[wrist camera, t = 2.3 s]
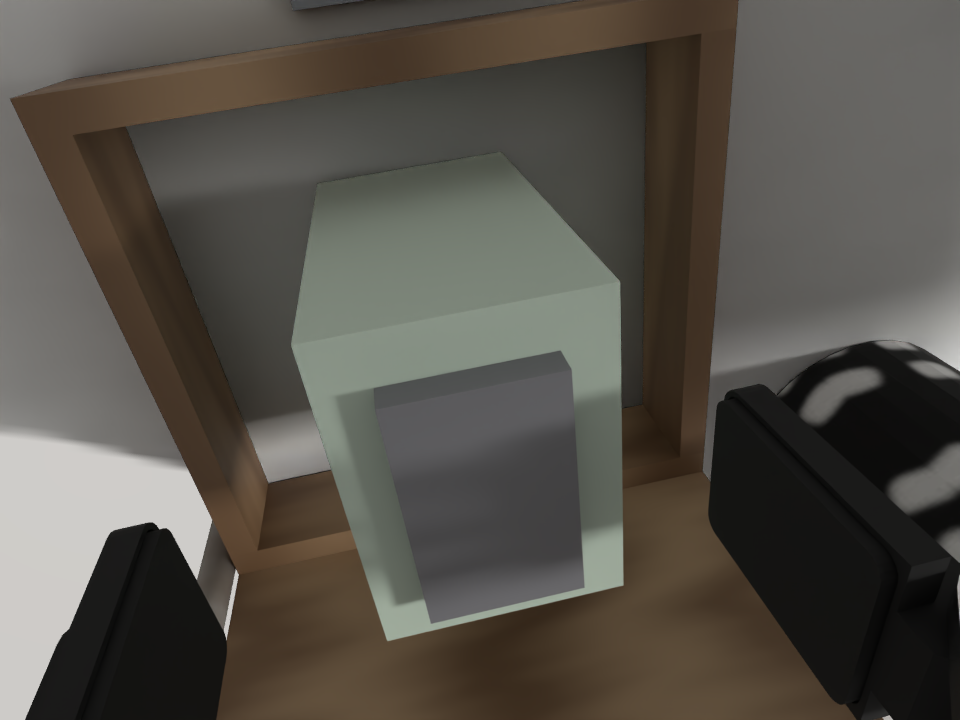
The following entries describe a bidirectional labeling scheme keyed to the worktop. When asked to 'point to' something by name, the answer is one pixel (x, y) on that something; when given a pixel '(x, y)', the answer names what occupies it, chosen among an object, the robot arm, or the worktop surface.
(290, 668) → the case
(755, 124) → the worktop surface
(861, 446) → the white-spotted black cylinder
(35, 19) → the worktop surface
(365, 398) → the module
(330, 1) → the mat
